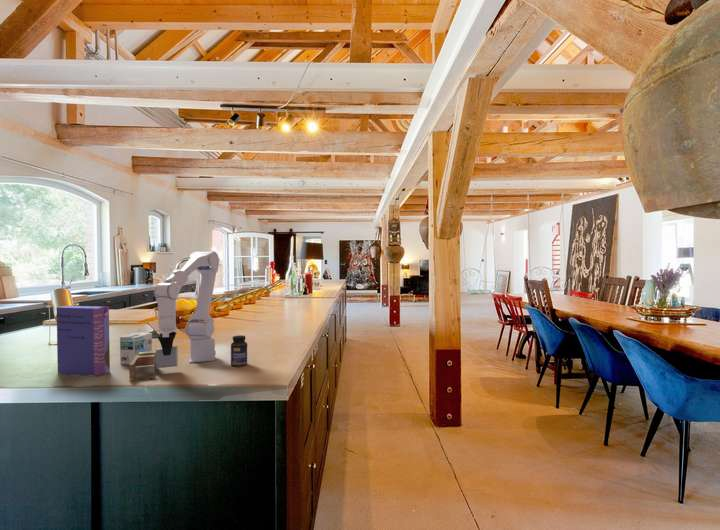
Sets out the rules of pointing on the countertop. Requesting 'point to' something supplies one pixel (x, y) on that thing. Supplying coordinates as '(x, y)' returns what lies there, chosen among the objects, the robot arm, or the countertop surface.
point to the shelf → (143, 366)
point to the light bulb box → (134, 346)
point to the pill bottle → (239, 351)
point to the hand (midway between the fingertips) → (167, 353)
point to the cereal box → (83, 340)
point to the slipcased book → (167, 358)
